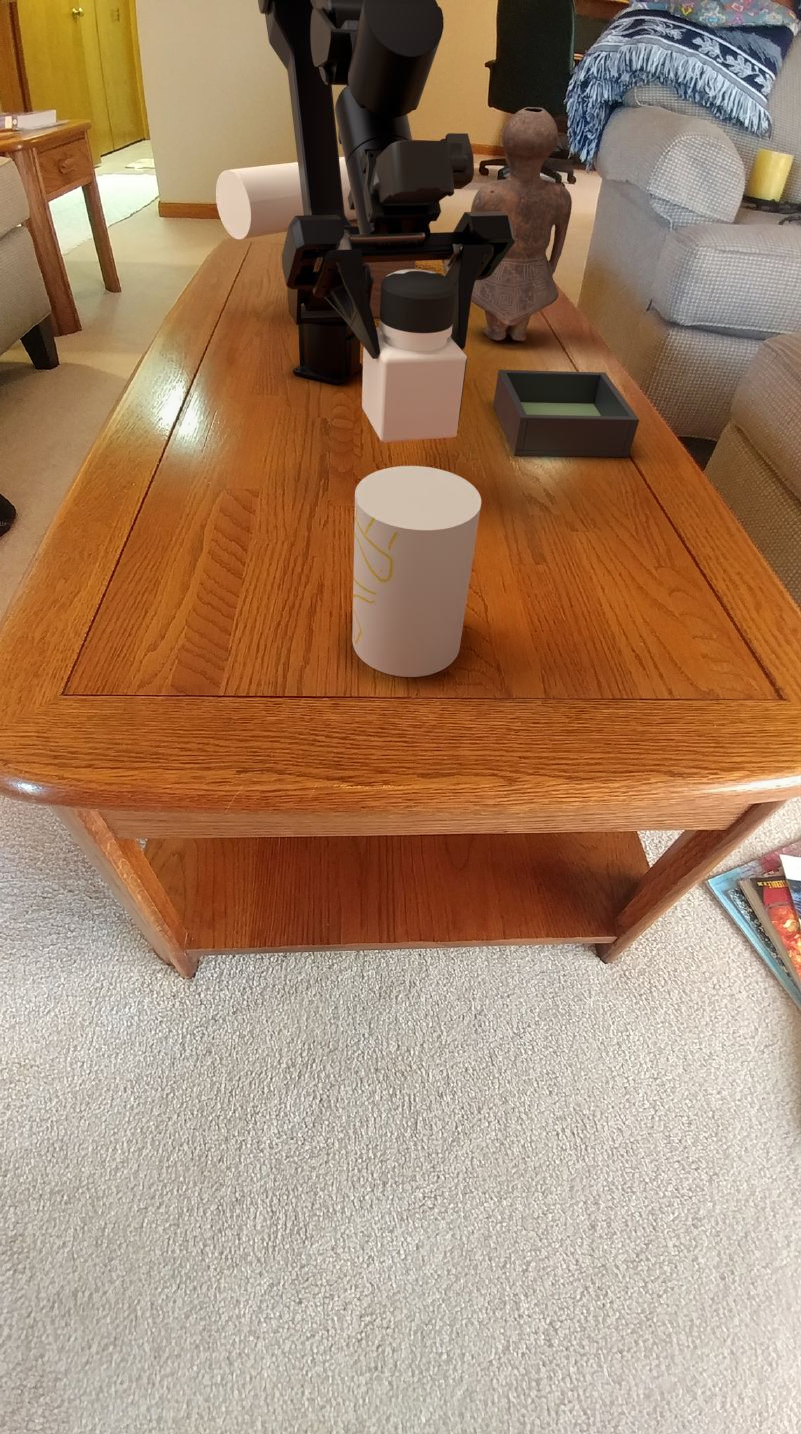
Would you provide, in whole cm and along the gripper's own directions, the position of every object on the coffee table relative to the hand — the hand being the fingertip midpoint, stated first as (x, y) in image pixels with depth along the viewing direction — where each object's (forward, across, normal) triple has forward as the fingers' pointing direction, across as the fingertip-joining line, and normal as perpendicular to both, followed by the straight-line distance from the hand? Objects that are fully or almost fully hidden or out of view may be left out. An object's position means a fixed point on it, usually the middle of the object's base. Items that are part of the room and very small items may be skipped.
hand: (419, 353), depth 62 cm
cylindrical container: (-35, -5, +35) cm, 50 cm away
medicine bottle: (+4, 0, +6) cm, 7 cm away
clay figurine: (-17, +29, +36) cm, 49 cm away
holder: (+3, +22, +16) cm, 27 cm away
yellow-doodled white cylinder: (+24, -8, -5) cm, 25 cm away
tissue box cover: (-34, +16, +54) cm, 65 cm away
